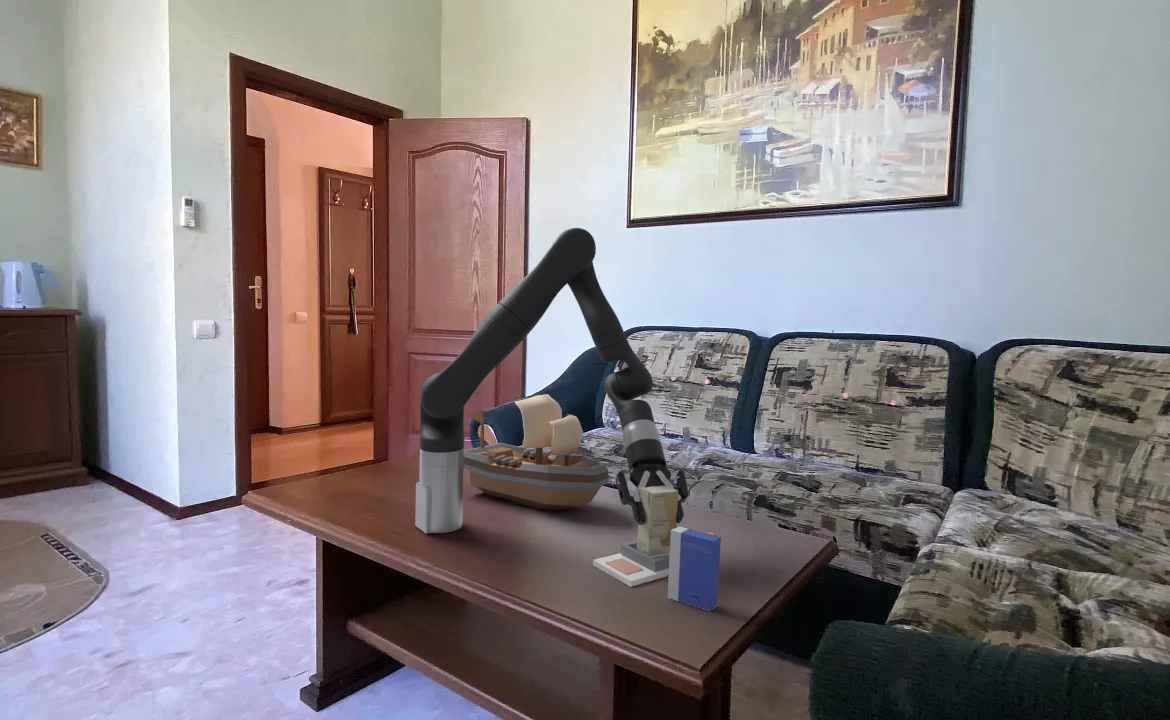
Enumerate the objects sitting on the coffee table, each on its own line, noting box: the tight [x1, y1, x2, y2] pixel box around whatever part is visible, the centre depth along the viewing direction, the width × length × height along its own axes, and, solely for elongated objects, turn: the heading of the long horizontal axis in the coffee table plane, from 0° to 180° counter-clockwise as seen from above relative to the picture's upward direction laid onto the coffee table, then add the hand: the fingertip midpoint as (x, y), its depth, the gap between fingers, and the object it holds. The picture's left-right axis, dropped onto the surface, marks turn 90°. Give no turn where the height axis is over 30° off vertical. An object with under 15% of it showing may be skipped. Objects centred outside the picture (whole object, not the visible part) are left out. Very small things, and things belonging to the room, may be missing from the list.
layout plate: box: [592, 540, 669, 588], centre depth 118 cm, size 16×11×3 cm
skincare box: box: [636, 486, 678, 557], centre depth 120 cm, size 6×4×12 cm
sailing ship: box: [463, 393, 609, 511], centre depth 158 cm, size 16×45×27 cm, turn 55°
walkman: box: [667, 526, 722, 612], centre depth 104 cm, size 8×3×12 cm, turn 54°
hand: (660, 522), depth 118 cm, fingers closed on skincare box, 7 cm apart
